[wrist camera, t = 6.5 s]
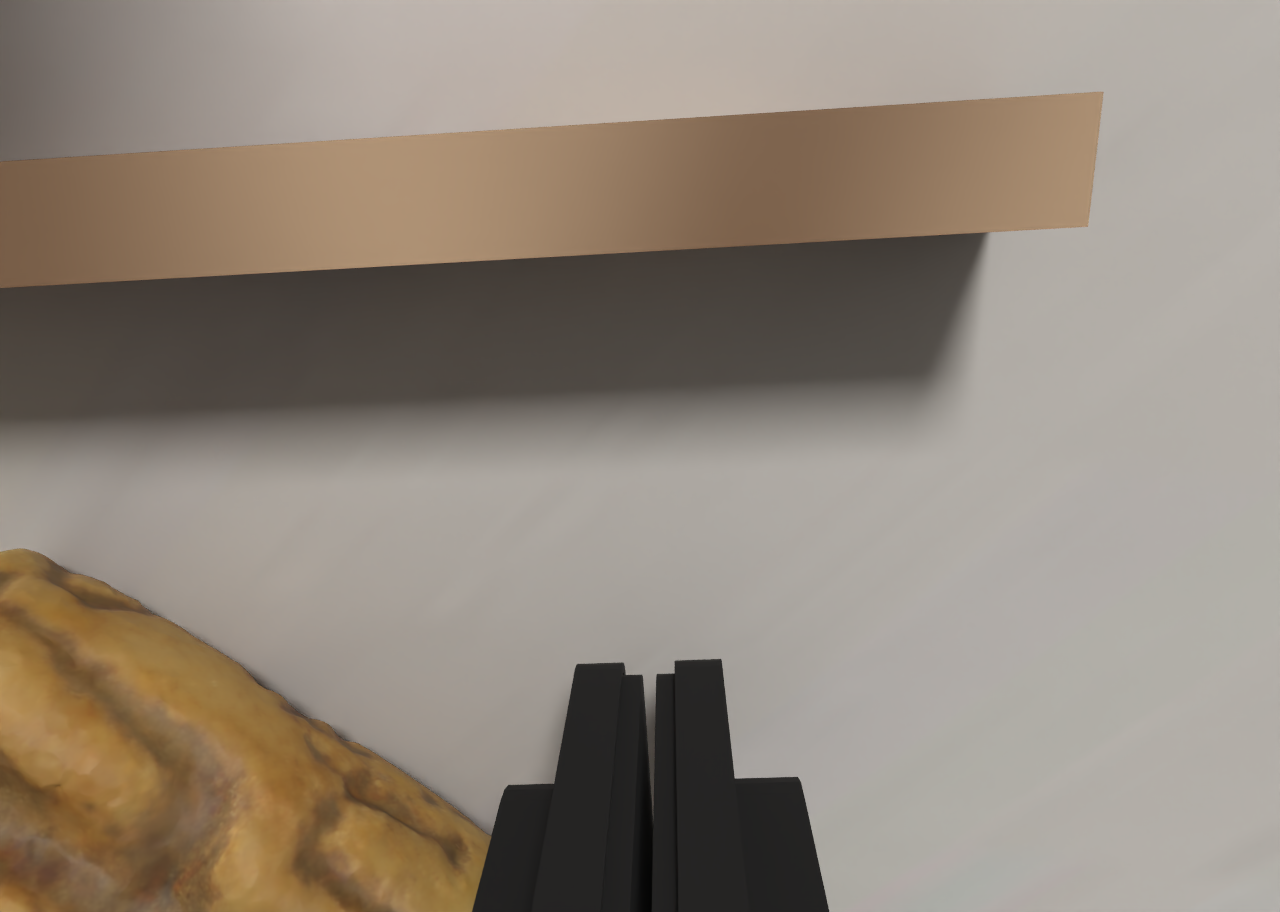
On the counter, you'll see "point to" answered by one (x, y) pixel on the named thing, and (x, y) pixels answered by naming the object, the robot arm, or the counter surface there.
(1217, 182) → the counter surface
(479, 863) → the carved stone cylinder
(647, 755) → the robot arm
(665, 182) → the bay
